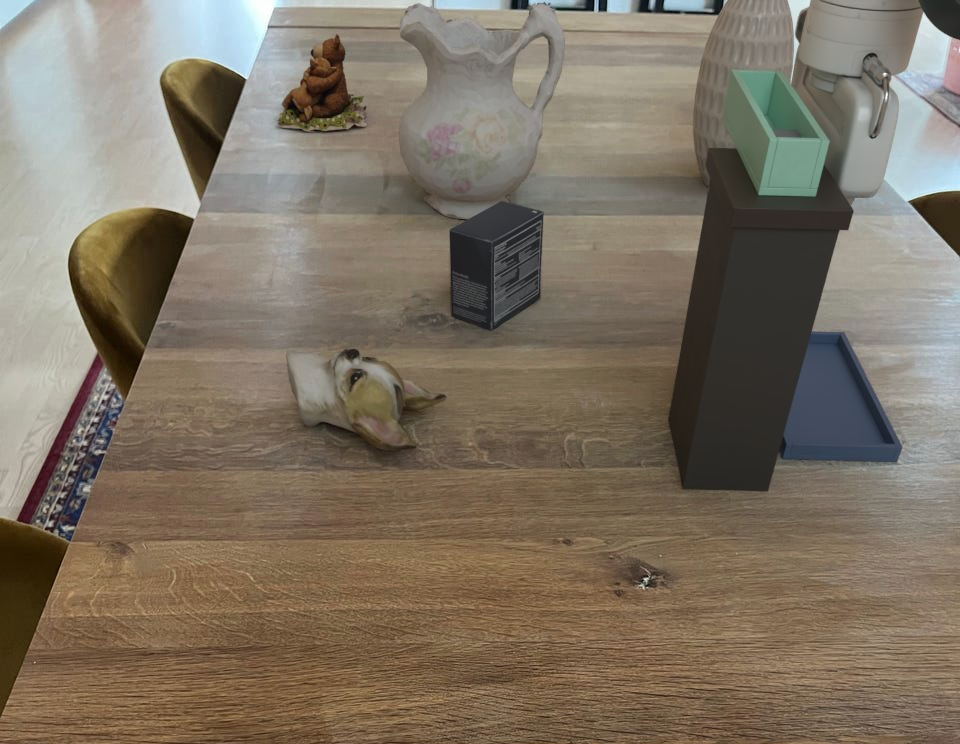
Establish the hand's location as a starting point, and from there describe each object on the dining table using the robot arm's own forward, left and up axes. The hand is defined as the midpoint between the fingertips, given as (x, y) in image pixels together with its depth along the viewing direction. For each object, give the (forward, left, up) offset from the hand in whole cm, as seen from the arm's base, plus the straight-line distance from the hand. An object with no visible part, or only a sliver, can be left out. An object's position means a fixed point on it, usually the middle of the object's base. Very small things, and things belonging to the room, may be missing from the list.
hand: (814, 211), depth 90 cm
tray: (-5, 0, -19) cm, 20 cm away
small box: (+29, -19, -20) cm, 40 cm away
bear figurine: (+59, -86, -20) cm, 106 cm away
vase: (-5, -61, -20) cm, 64 cm away
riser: (+7, +11, -19) cm, 23 cm away
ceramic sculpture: (+42, +8, -20) cm, 47 cm away
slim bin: (+7, +6, +7) cm, 11 cm away
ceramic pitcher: (+32, -51, -20) cm, 63 cm away
